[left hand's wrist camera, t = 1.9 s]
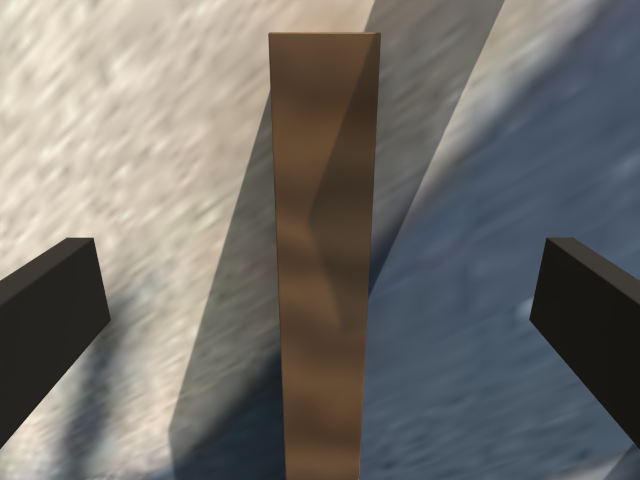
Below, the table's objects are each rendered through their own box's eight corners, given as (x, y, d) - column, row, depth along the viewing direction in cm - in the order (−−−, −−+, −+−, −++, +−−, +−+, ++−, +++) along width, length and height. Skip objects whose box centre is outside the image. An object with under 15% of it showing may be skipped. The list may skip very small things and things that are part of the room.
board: (283, 44, 28) (268, 32, 20) (364, 44, 28) (381, 32, 20) (298, 589, 49) (294, 686, 41) (345, 589, 49) (349, 687, 41)
